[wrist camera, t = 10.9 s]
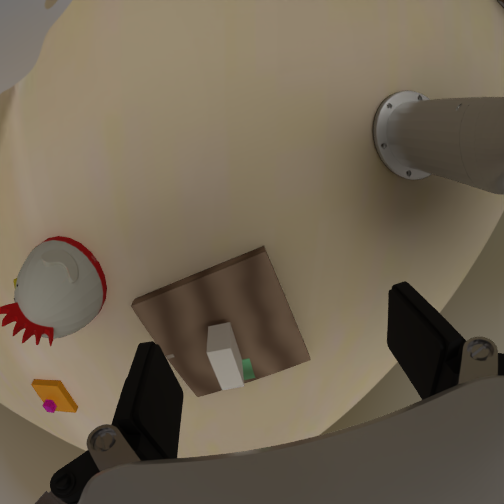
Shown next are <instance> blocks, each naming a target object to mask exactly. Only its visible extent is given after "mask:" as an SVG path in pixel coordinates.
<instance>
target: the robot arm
mask: <svg viewBox="0 0 504 504" xmlns="http://www.w3.org/2000/svg"><path fill="white" fill-rule="evenodd" d="M387 106H388V108H387ZM373 133H374V141H375V145H376V149H377V151H378V154H379V156H380V158H381V159H382V161H383V162H384V164H385V165H386V166H387V167H388V168H389V169H390V170H391V171H392V172H394V173H395V174H396V175H399V176H401V177H403V178H406V179H412V180H418V179H423V178H426V177H428V176H430V175H431V174H433V175H437V176H440V177H444V178H447V179H451V180H454V181H457V182H460V183H463V184H466V185H470V186H473V187H476V188H479V189H482V190H485V191H488V192H491V193H495V194H504V97H477V98H449V99H433V100H430V99H429V98H428V97H426V96H425V95H423V94H421V93H418V92H415V91H401V92H397V93H394V94H392V95H390V96H389V97H387V98H386V99H385V100H384V101H383V102H382V104H381V105H380V107H379V108H378V111H377V113H376V116H375V120H374V129H373ZM381 144H382V147H381ZM406 172H407V173H406ZM387 344H388V347H389V349H390V351H391V352H392V354H393V355H394V357H395V358H396V360H397V361H398V363H399V364H400V366H401V367H402V369H403V370H404V372H405V373H406V375H407V376H408V378H409V379H410V381H411V383H412V384H413V386H414V387H415V389H416V390H417V392H418V394H419V395H420V397H421V398H422V400H421V401H419V402H417V403H414V404H412V405H409V406H407V407H404V408H402V409H399V410H397V411H394V412H391V413H389V414H386V415H384V416H381V417H378V418H375V419H372V420H369V421H366V422H364V423H360V424H357V425H354V426H351V427H348V428H344V429H341V430H338V431H334V432H331V433H327V434H324V435H320V436H316V437H312V438H308V439H304V440H299V441H295V442H291V443H286V444H281V445H276V446H271V447H266V448H260V449H254V450H248V451H242V452H235V453H228V454H219V455H210V456H200V457H189V458H177V452H178V442H179V432H180V423H181V413H182V405H183V391H182V388H181V386H180V384H179V383H178V381H177V379H176V377H175V375H174V373H173V371H172V369H171V367H170V365H169V363H168V361H167V359H166V357H165V355H164V353H163V351H162V349H161V347H160V345H159V344H155V343H154V342H153V341H151V342H145V343H140V344H139V345H138V348H137V351H136V354H135V357H134V360H133V362H132V365H131V368H130V371H129V374H128V377H127V378H126V380H125V383H124V386H123V389H122V392H121V395H120V399H119V402H118V405H117V408H116V411H115V415H114V418H113V421H112V425H107V424H106V425H101V426H99V427H97V428H95V429H94V430H93V431H92V432H91V433H90V434H89V436H88V439H87V447H88V451H86V452H85V453H83V454H82V455H80V456H79V457H78V458H76V459H74V460H73V461H72V462H70V463H69V464H67V465H66V466H64V467H63V468H61V469H60V470H58V471H57V472H56V473H55V474H54V475H53V477H52V478H51V481H50V488H51V491H50V492H49V493H48V492H47V491H46V492H45V493H44V494H43V495H42V496H41V497H40V498H39V500H38V501H37V502H36V503H35V504H504V354H502V353H498V350H497V346H496V345H495V343H494V342H493V341H491V340H490V339H488V338H485V337H473V338H470V339H469V340H467V341H466V340H465V339H464V338H463V337H462V336H461V335H460V334H459V333H458V332H457V331H456V330H455V329H454V328H453V327H452V325H451V324H449V322H448V321H447V320H446V319H445V318H444V317H443V316H442V315H441V314H440V313H439V312H438V311H437V310H436V309H435V308H434V307H432V306H431V305H430V304H429V303H428V302H427V301H426V300H425V299H424V298H423V297H422V296H421V295H420V294H419V293H418V292H417V291H416V290H415V289H414V288H413V287H412V286H411V285H410V284H409V283H407V282H401V283H398V284H395V285H393V286H392V289H391V290H389V303H388V331H387Z"/></svg>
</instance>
